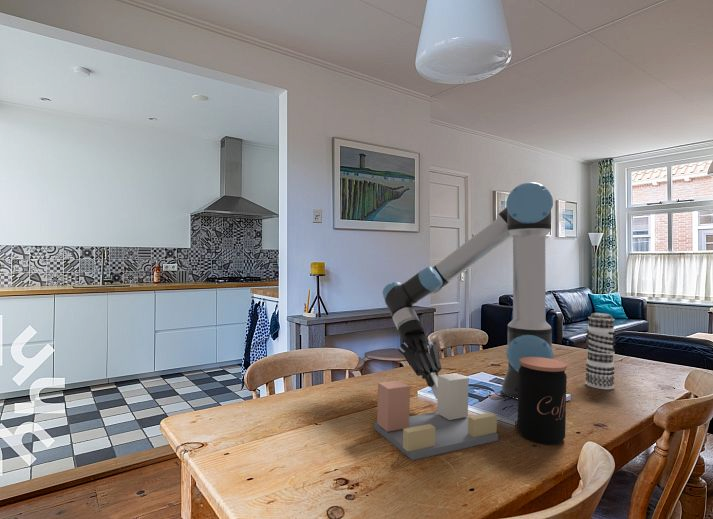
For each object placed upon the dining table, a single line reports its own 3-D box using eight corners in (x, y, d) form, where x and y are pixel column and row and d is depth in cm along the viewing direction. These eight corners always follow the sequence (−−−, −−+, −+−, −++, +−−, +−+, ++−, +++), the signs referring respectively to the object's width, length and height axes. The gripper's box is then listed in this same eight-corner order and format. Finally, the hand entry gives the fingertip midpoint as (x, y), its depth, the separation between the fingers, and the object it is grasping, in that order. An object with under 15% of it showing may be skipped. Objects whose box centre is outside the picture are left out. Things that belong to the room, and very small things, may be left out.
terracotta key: (377, 423, 98) (378, 382, 98) (398, 419, 100) (399, 380, 100) (387, 431, 93) (388, 388, 93) (409, 427, 96) (410, 386, 96)
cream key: (437, 413, 106) (437, 375, 106) (455, 409, 108) (456, 372, 108) (449, 420, 101) (450, 380, 101) (467, 416, 104) (468, 378, 104)
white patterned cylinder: (606, 382, 144) (608, 312, 144) (620, 390, 134) (622, 316, 134) (579, 380, 144) (581, 311, 145) (592, 388, 135) (594, 315, 135)
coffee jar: (537, 448, 91) (539, 368, 91) (507, 428, 101) (509, 357, 101) (575, 443, 94) (577, 366, 94) (543, 425, 104) (544, 355, 104)
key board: (372, 428, 99) (372, 406, 99) (452, 414, 110) (453, 394, 110) (410, 460, 84) (410, 434, 84) (499, 440, 94) (500, 416, 94)
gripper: (420, 331, 129) (453, 400, 114) (385, 333, 124) (414, 406, 109) (431, 317, 125) (466, 386, 109) (395, 319, 119) (426, 392, 104)
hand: (440, 396), depth 109 cm, fingers closed
